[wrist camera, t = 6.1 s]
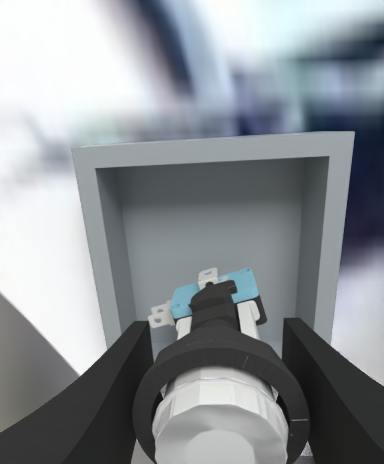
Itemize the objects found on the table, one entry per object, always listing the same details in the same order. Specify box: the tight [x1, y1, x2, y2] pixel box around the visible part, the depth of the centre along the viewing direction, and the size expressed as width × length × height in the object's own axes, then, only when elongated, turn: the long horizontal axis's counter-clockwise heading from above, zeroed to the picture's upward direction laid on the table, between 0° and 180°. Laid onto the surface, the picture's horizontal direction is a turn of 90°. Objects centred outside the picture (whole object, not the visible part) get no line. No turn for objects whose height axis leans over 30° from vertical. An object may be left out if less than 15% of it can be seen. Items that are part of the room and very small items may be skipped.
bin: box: [71, 131, 355, 393], centre depth 18 cm, size 13×15×4 cm
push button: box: [132, 268, 310, 464], centre depth 13 cm, size 7×5×10 cm
